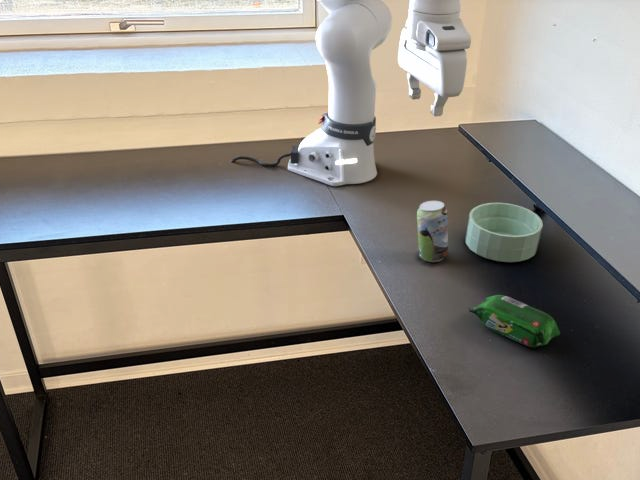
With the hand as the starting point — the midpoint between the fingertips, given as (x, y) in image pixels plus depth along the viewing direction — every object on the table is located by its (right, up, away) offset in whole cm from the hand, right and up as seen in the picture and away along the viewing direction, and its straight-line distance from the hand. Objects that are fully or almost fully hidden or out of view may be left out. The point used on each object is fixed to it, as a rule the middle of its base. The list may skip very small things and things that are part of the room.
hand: (425, 106), depth 135 cm
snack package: (+15, -42, -3) cm, 45 cm away
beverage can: (+3, -26, +17) cm, 31 cm away
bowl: (+18, -23, +22) cm, 36 cm away
